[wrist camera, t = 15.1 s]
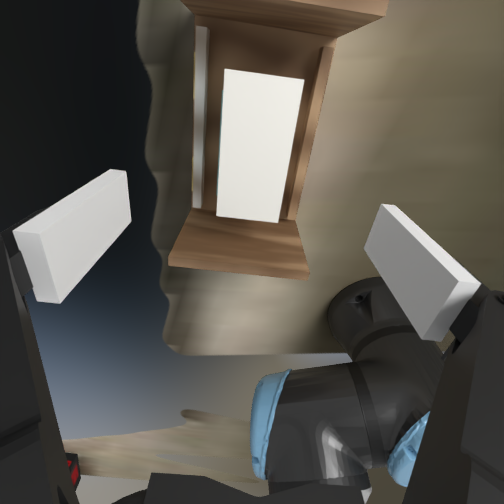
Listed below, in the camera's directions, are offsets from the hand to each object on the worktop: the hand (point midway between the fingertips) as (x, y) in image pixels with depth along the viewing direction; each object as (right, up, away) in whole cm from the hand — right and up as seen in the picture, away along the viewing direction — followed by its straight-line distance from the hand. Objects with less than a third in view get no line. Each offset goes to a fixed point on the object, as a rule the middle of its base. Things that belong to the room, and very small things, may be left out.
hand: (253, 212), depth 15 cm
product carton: (0, +11, +18) cm, 21 cm away
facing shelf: (0, +12, +19) cm, 23 cm away
